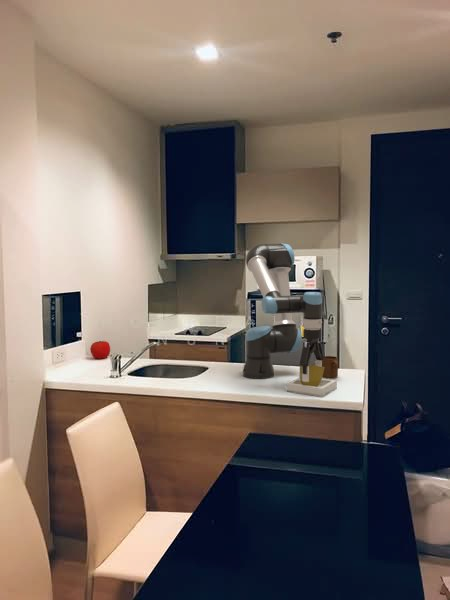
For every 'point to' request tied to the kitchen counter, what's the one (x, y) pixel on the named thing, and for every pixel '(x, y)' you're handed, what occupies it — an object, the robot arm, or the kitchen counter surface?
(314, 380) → the flower pot
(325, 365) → the mug
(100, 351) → the tomato
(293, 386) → the white square tray
